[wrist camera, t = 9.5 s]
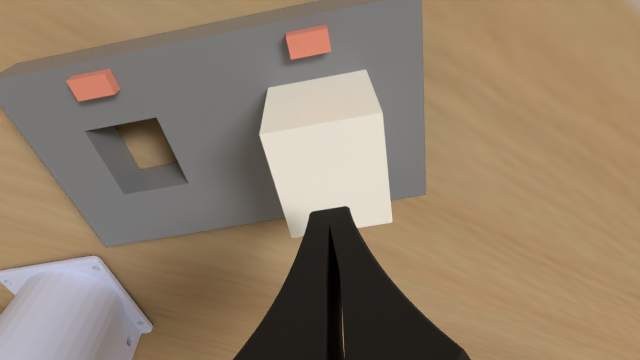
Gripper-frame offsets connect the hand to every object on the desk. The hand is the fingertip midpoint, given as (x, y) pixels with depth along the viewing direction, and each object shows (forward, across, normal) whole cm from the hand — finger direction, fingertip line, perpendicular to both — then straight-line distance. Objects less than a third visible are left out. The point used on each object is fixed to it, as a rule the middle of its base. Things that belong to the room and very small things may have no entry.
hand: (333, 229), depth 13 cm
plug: (+9, 0, 0) cm, 9 cm away
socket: (+10, +5, 0) cm, 11 cm away
